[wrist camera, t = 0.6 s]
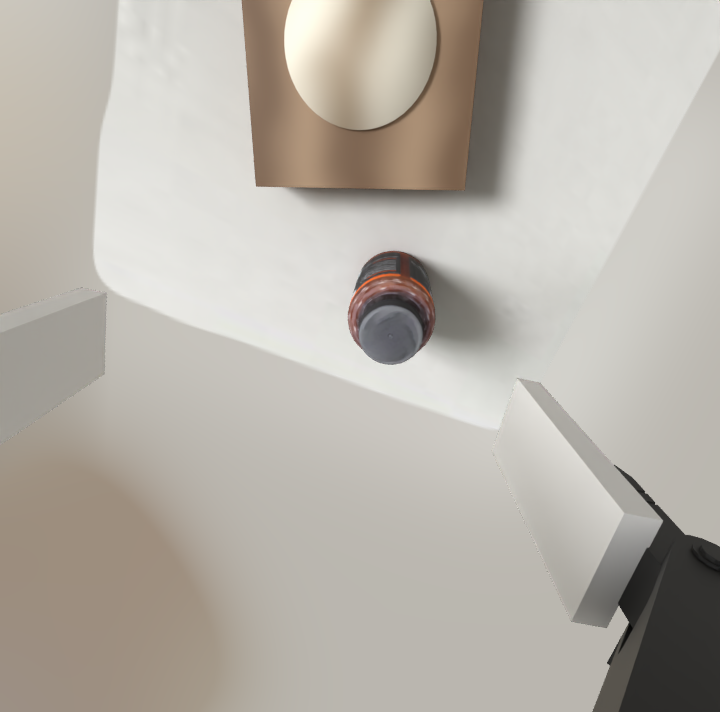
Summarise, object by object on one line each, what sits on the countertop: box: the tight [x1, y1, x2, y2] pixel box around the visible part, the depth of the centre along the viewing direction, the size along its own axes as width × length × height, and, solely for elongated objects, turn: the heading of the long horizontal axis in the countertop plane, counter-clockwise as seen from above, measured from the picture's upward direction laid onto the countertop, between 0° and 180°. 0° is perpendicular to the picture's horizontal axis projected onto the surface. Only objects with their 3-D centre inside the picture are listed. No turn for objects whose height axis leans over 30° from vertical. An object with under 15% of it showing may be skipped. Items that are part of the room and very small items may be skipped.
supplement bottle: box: [348, 251, 435, 365], centre depth 33 cm, size 6×6×11 cm
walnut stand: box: [242, 0, 484, 190], centre depth 30 cm, size 14×16×5 cm
